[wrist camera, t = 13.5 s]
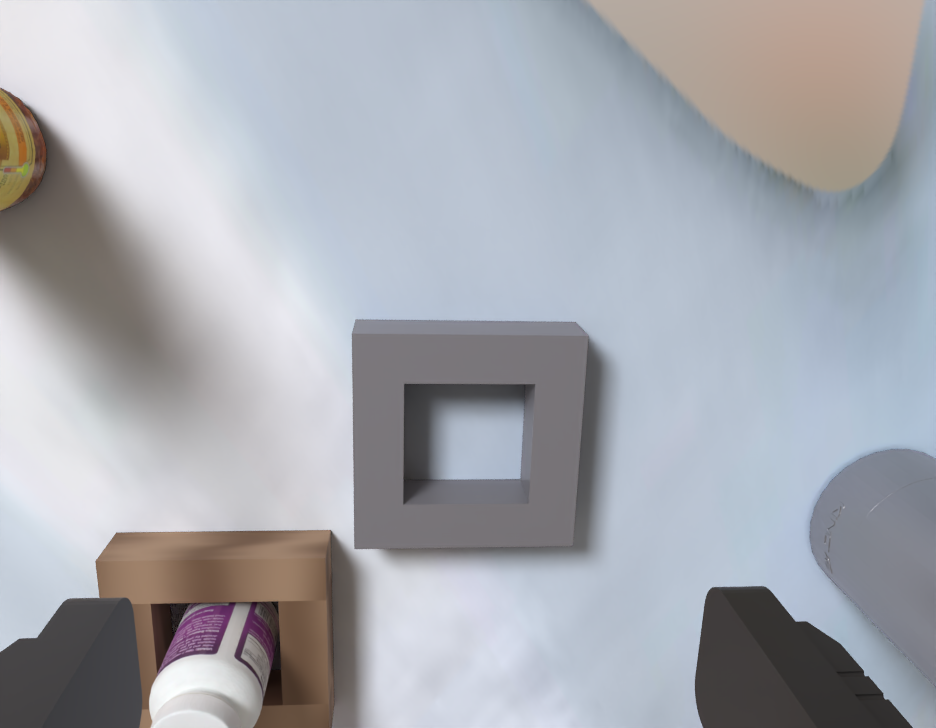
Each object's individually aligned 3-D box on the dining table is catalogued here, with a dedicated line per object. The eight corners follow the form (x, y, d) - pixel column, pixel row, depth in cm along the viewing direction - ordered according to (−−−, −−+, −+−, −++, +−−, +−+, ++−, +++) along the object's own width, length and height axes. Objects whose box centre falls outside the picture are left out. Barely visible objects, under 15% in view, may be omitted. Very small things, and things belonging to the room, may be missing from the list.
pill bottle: (176, 649, 45) (116, 783, 35) (197, 570, 43) (141, 687, 34) (269, 669, 45) (234, 805, 36) (292, 592, 44) (263, 713, 35)
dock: (330, 530, 43) (325, 558, 40) (334, 704, 46) (329, 741, 44) (116, 532, 42) (95, 561, 39) (135, 710, 45) (117, 748, 43)
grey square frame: (575, 322, 41) (588, 335, 38) (561, 519, 44) (573, 546, 41) (355, 319, 40) (352, 333, 37) (357, 521, 43) (354, 549, 40)
